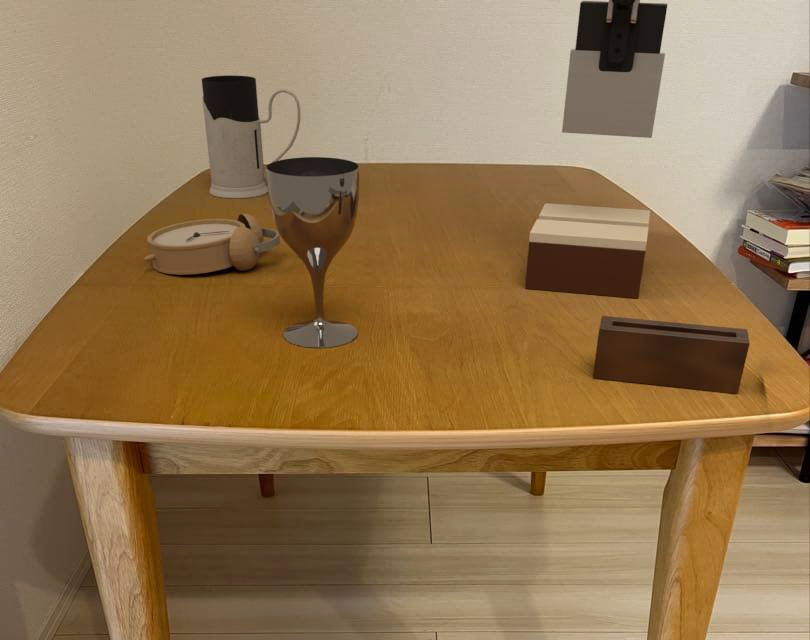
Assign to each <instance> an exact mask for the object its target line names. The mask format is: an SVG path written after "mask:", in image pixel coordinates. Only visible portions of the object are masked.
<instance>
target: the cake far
mask: <svg viewBox="0 0 810 640" xmlns="http://www.w3.org/2000/svg"><path fill="white" fill-rule="evenodd" d="M650 218H651V209H650V210H649V209H638V208H637V209H635V208H622V207H621V208H619V207H606V206H593V205H592V206H590V205H577V204H562V203H547V202H545V203H544V205H543V207H542V209H541V210H540V212H539V215H538V219H543V220H557V221H571V222H584V223H598V224H612V225H625V226H639V227H649V226H650V221H651V219H650Z"/></svg>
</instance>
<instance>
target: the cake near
mask: <svg viewBox="0 0 810 640" xmlns="http://www.w3.org/2000/svg"><path fill="white" fill-rule="evenodd" d="M648 237H649V227H639V226H625V225H612V224H598V223H584V222H571V221H557V220H543V219H539V218H536V220H535V222H534V224H533V225H532V228H531V229H530V232H529V237H528V248H527V263H526V271H525V284H524V285H525V286H524V289H526V290H536V291H548V292H556V293H557V292H559V293H567V294H569V293H570V294H580V295H581V294H582V295H592V296H602V297H615V298H624V299H626V298H627V299H635V300H636V299H637V300H638V299H639V295H640V290H641V289H640V288H641V283H642V276H643V269H644V263H645V257H646V250H647V244H648Z"/></svg>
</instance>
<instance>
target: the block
mask: <svg viewBox="0 0 810 640" xmlns="http://www.w3.org/2000/svg"><path fill="white" fill-rule="evenodd" d="M750 343H751V342H750V337H749V332H748V329H747V328H738V327H726V326H716V325H706V324H695V323H684V322H673V321H662V320H652V319H643V318H630V317H620V316H609V315H601V319H600V324H599V328H598V335H597V343H596V350H595V357H594V364H593V371H592V379H597V380H606V381H613V382H614V381H615V382H624V383H632V384H633V383H634V384H644V385H650V386H651V385H652V386H662V387H672V388H679V389H680V388H681V389H689V390H697V391H698V390H699V391H706V392H717V393H724V394H725V393H726V394H734V395H735V394H736V395H738V394H739V390H740V386H741V383H742V378H743V373H744V370H745V365H746V361H747V357H748V352H749V348H750Z"/></svg>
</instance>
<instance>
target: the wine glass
mask: <svg viewBox="0 0 810 640" xmlns="http://www.w3.org/2000/svg"><path fill="white" fill-rule="evenodd" d="M266 168H267V173H266V186H267V187H268V192H267V193H268V201H269V205H270V211H271V215H272V218H273V221H274V224H275V227H276V231H277V232H278V233H279V237H281V238H282V240H283V241H284V243H285V244H286V246H288V247H289V248H290V249H291V250H292V252H293V253H294V254H295V255H297V257H298V258H299V259H300V260H301V261H302V263H303V264H304V266H305V267H306V269H307V272H308V274H309V276H310V280H311V284H312V290H313V297H314V309H315V312H314V313H315V317H314V319H311V320H304V321H299V322H296V323H293V324H292V325H290V326H288V327H287V328H285V329H284V332H282V333H283V334H282V337H283V339H284V340H285V341H286V342H288V343H289V344H293V345H295V346H298V345H299V346H298V347H302V348H303V347H304V348H313V349H323V348H333V347H340V346H344V345H346V344H349V343H351V342H352V341H354V340H355V339H357V337H358V335H359V332H358V329H357V328H356V327H355V326H353V324H350V323H347V322H345V321H340V320H334V319H326V318H325V311H324V309H325V308H324V291H325V280H326V276H327V275H326V274H327V272H328V270H329V266H330V265H331V264H332V262H333V260H334V258H335V257H336V256H337V255H338V253H339V252H340V251H341V249H342V248H343V247H344V246H345V244H347V242H348V241H349V239H350V238H351V236H352V234H353V231H354V228H355V224H356V221H357V215H358V208H359V201H360V168H359V164H358V163H356V162H354V161H352V160H349V159H344V158H337V157H325V156H323V157H322V156H320V157H319V156H305V157H304V156H303V157H292V158H291V157H290V158H284V159H279V160H278V161H275V162H273V161H272V162H270V163H269V164H267V165H266Z"/></svg>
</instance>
